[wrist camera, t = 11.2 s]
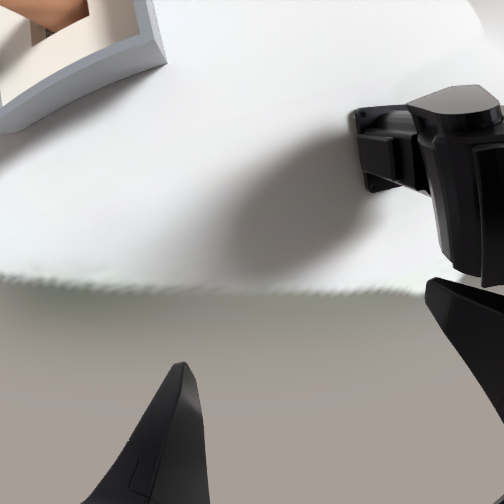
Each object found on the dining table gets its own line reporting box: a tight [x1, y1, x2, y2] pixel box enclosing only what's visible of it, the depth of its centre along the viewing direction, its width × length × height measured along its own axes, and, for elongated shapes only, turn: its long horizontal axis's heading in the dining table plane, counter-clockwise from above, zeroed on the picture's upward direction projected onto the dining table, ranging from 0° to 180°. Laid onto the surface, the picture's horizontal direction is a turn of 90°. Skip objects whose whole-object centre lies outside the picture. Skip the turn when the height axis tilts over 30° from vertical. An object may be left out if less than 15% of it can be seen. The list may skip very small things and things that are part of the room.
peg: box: [0, 0, 90, 33], centre depth 8 cm, size 3×3×8 cm
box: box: [0, 0, 167, 135], centre depth 9 cm, size 12×14×6 cm
